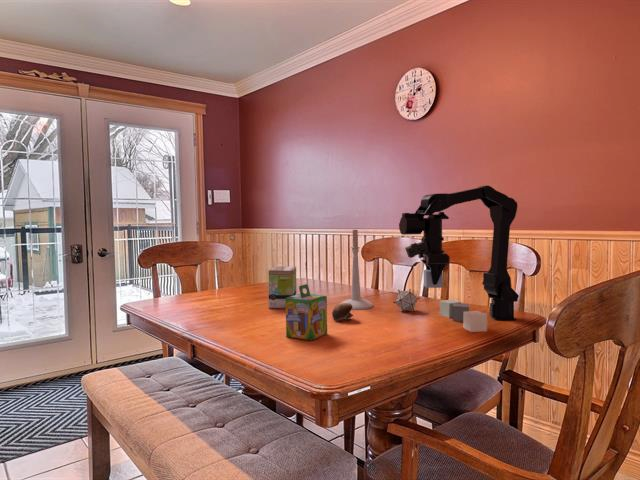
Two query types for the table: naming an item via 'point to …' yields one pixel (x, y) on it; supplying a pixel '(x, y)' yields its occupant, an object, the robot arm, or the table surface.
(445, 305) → the sage cube
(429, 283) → the slate blue cube
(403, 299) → the game die
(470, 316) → the cream cube
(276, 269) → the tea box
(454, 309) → the charcoal cube
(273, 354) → the table surface
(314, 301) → the chalk box
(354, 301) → the candlestick
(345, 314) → the mushroom
